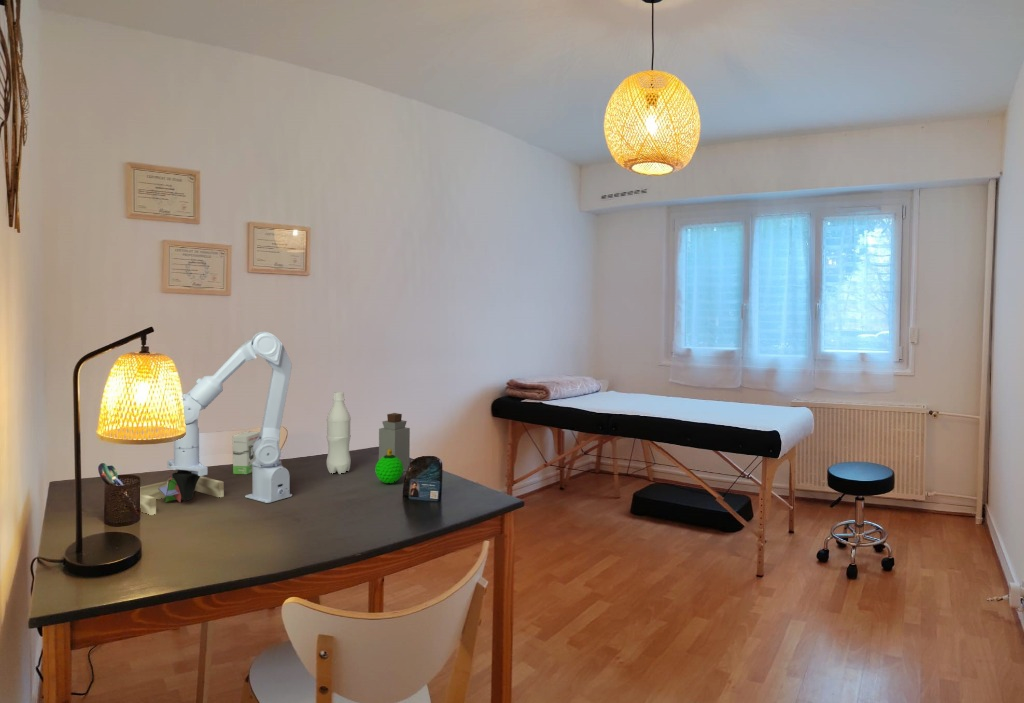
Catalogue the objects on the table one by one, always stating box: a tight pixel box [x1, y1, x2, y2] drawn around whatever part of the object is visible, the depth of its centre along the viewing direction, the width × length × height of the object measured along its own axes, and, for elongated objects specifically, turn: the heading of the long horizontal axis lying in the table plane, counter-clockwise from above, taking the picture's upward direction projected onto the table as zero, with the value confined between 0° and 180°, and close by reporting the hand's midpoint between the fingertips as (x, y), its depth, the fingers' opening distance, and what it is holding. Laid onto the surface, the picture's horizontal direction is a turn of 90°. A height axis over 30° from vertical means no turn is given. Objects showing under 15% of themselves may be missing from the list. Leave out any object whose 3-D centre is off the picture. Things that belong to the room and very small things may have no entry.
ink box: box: [232, 430, 260, 475], centre depth 195 cm, size 9×5×12 cm, turn 173°
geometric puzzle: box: [158, 475, 183, 504], centre depth 163 cm, size 7×7×8 cm
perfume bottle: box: [378, 412, 411, 470], centre depth 199 cm, size 7×7×18 cm
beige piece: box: [139, 476, 225, 516], centre depth 163 cm, size 13×19×4 cm, turn 148°
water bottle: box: [326, 391, 352, 475], centre depth 195 cm, size 7×7×25 cm
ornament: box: [374, 449, 404, 484], centre depth 184 cm, size 8×8×10 cm
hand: (187, 499), depth 160 cm, fingers closed
